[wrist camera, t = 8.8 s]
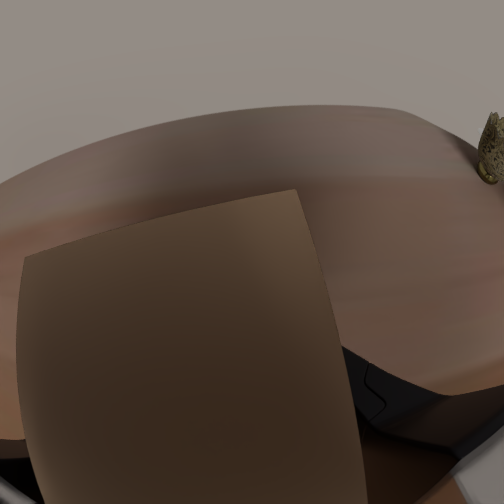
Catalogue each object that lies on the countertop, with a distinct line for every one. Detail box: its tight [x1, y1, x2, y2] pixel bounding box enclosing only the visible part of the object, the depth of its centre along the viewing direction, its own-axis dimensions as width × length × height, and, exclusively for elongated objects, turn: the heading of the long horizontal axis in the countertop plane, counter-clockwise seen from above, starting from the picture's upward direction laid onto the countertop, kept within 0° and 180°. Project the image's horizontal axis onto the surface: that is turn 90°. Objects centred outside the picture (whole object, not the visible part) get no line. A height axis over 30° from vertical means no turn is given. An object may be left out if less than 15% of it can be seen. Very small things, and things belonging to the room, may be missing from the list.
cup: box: [477, 112, 504, 185], centre depth 20 cm, size 8×7×8 cm
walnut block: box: [16, 189, 368, 504], centre depth 8 cm, size 5×5×13 cm
